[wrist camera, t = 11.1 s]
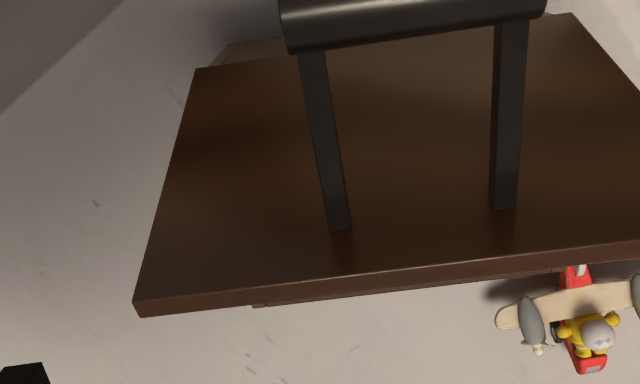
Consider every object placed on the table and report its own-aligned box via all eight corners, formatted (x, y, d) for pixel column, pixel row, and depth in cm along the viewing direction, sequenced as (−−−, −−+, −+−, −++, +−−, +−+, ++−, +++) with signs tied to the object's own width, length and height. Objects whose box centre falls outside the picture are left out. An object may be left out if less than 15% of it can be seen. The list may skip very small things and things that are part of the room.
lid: (748, 246, 17) (888, -85, 11) (139, 319, 18) (-2, 53, 13) (569, 27, 28) (596, -194, 23) (199, 82, 29) (138, -114, 24)
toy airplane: (573, 355, 46) (609, 416, 40) (478, 299, 44) (501, 354, 38) (660, 267, 43) (712, 319, 37) (562, 203, 41) (601, 247, 35)
